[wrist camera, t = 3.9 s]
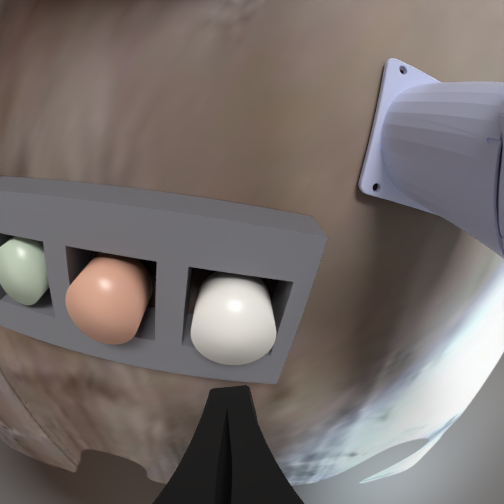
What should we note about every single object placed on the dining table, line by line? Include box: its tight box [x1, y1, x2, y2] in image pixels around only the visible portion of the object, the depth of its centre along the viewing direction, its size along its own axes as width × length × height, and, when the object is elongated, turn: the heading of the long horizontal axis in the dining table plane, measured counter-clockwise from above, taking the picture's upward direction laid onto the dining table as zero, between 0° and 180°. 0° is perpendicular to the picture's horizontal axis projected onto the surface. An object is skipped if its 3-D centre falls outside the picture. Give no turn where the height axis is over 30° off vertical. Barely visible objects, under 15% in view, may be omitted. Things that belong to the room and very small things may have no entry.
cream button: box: [191, 271, 276, 365], centre depth 15 cm, size 4×4×3 cm
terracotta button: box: [65, 252, 153, 345], centre depth 14 cm, size 4×4×3 cm
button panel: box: [0, 176, 328, 384], centre depth 15 cm, size 20×10×3 cm, turn 79°
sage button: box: [0, 236, 49, 305], centre depth 14 cm, size 4×4×3 cm
